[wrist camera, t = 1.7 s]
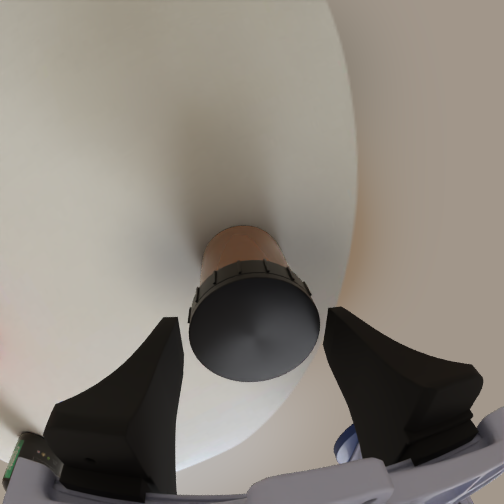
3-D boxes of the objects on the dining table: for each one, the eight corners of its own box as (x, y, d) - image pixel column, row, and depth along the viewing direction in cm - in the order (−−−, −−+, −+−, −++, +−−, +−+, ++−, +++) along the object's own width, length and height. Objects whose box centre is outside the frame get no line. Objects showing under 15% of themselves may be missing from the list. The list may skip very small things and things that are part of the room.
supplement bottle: (12, 425, 25) (-16, 496, 14) (54, 438, 25) (29, 518, 14) (34, 454, 27) (13, 518, 16) (73, 465, 28) (57, 536, 17)
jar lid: (305, 354, 15) (313, 376, 14) (197, 361, 15) (195, 385, 13) (315, 255, 13) (327, 272, 12) (184, 261, 13) (180, 279, 11)
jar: (280, 296, 21) (305, 366, 14) (205, 300, 20) (201, 373, 14) (283, 224, 19) (316, 273, 12) (199, 226, 18) (189, 280, 12)
